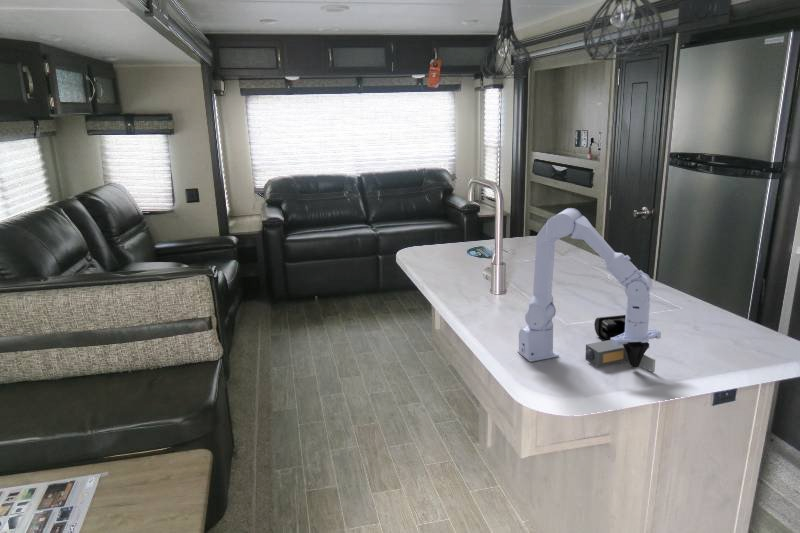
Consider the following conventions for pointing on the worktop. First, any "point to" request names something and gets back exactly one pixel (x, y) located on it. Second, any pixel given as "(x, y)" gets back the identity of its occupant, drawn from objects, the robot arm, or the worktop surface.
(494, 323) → the worktop surface
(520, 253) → the worktop surface
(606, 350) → the camera case
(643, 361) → the side cover
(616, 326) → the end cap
